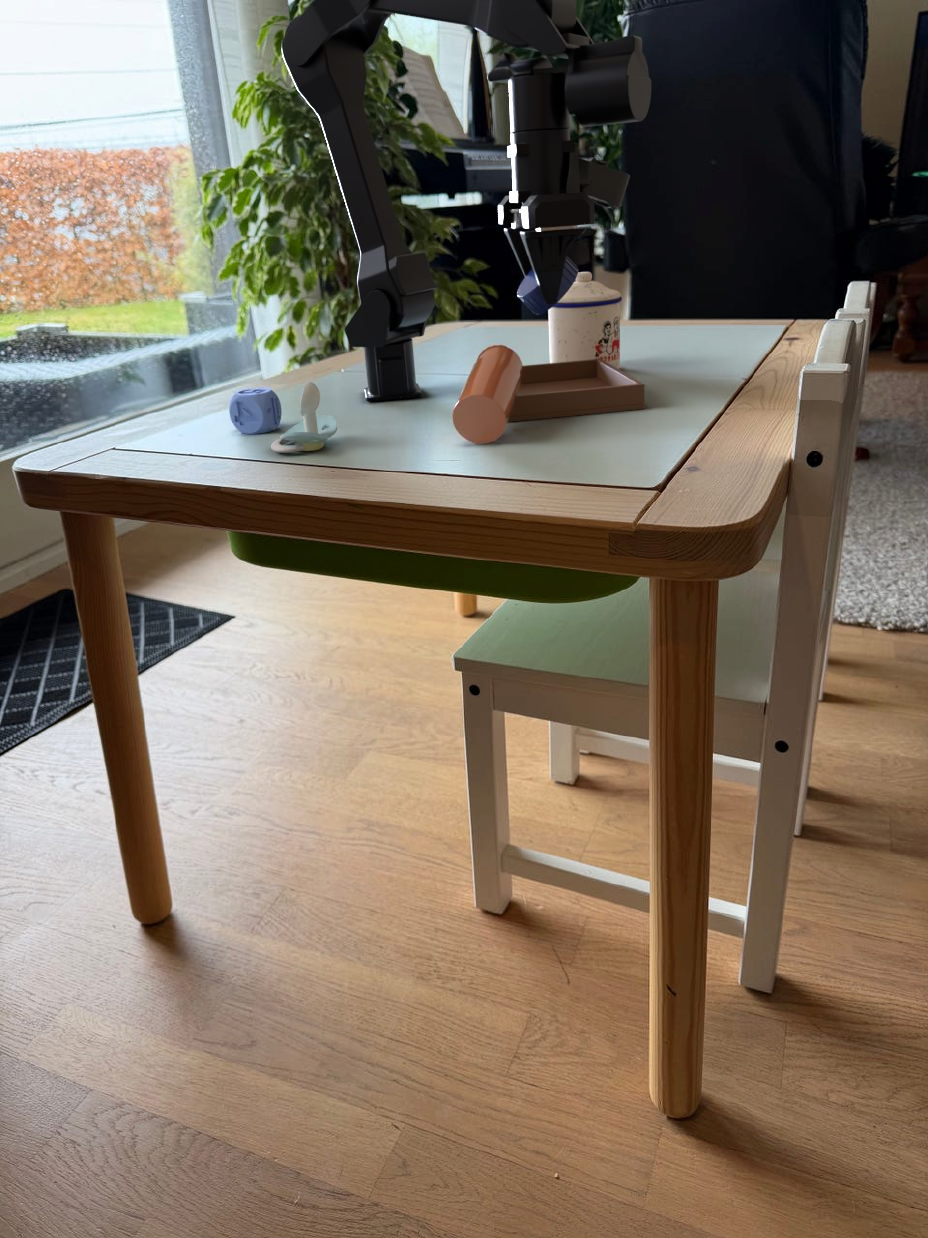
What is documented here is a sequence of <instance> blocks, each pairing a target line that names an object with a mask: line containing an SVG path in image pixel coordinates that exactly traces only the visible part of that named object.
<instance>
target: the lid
mask: <svg viewBox="0 0 928 1238" xmlns="http://www.w3.org/2000/svg"><path fill="white" fill-rule="evenodd" d="M578 273H579V268H578V265H577V264H575V262H573V261H572V259H571V258H570V257H569V256H568V255H567V257H566V261H565V266H564V270H563V275H562V280H561V284H560V289H559V294H558V299H557V302H558V301H559V300H560V299H561V298H562V297H563V296H564V295H565V294H566V293H567V292H568V290H569V289H570V288H571V286H572V285H573V283H574V282H576V278H577V275H578ZM516 296H517V298H518V299H520V301H521V302H522V304H523V305H525V307H527V309H529V311H530V312H531V313H532V314H535V315H537V316H539V315H542V314H544V313H546V312H548V310H549V309H550V308H552V307H553V306H554V305H555V304H556V303H557V302H556V303H555V304H546V303H545V301H544V298H543V296H542V293H541V290H540V288H539V285H538V282H537V279H536V277H535V274H534V271H533V268H532V269H531V270H530V272H529V273H528V274H527V275H526V277H525V276H524V278H523V280H522V281H521V283H520V284H519V286H518V289H517V291H516Z"/></svg>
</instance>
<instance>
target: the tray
mask: <svg viewBox="0 0 928 1238" xmlns="http://www.w3.org/2000/svg"><path fill="white" fill-rule="evenodd" d="M522 366H523V372H522V376H521V384H520V388H519V390H518V393H517V396H516V399H515V402H514V405H513V408H512V410H511V413H510V416H509V419H508V422H507V423H511V422H522V421H533V420H534V421H535V420H542V419H552V418H563V417H575V416H583V415H595V414H605V413H615V412H625V411H636V410H637V411H638V410H644V409H645V384H644V383H643V382H641V381H640V380H638V379H636V378H635V377H633V376H631V375H629V374H627V373H626V372H624V371H622V370H621V369H620V368H619V369H617V368H616V367H614V366H612V365H610V364H609V363H607V362H605V361H604V360H602V359H591V360H580V361H569V362H558V363H550V362H548V363H536V364H526V365H522Z"/></svg>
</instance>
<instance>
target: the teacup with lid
mask: <svg viewBox="0 0 928 1238" xmlns="http://www.w3.org/2000/svg"><path fill="white" fill-rule="evenodd" d="M622 300H623V297H622V294H621V293H620V291H618V290H616V289H612V288H610V287H607V286H605V285H604V284H602V283H601V282H600V281H596V280H593V274H592V272H590V271H580V272H579V271H578V275H577V278H576V280H575V281H574V283H573V285H572V286H571V288H570V289H569V290H568V292H567V293H566V294H565V295H564V296H563V297H562V298H561V299H560V300H559V301H558V302H557V303H556V304H555V305H554V306H553V307H552V308H550V309H549V310H548V311H547V314H548V316H547V317H548V345H549V346H548V347H549V348H548V349H549V363H558V362H569V361H580V360H591V359H602V360H604V361H605V362H607V363H609V364H610V365H612V366H614V367H616V368H617V369H619V370H620V368H621V302H622Z"/></svg>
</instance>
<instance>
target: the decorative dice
mask: <svg viewBox="0 0 928 1238" xmlns="http://www.w3.org/2000/svg"><path fill="white" fill-rule="evenodd" d="M228 407H229V408H228V411H229V412H228V413H229V418H230V421H231V423H232V425H233V427H235V429H237V431H238V432H240V433H241V434H245V435H257V434H266V433H269V432H273V431H275V430H277V428H278V427H279V426H280V424H281V421H282V415H283V413H282V412H283V411H282V404H281V401H280V398H279V396H278V395H277V393H276V392H275V391H274V390H273V389H271V388H270V387H269V388H268V387H254V388H246V389H241V390H238V391H235V392H234V393H233V395H232V396H231V398H230V400H229V406H228Z"/></svg>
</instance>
